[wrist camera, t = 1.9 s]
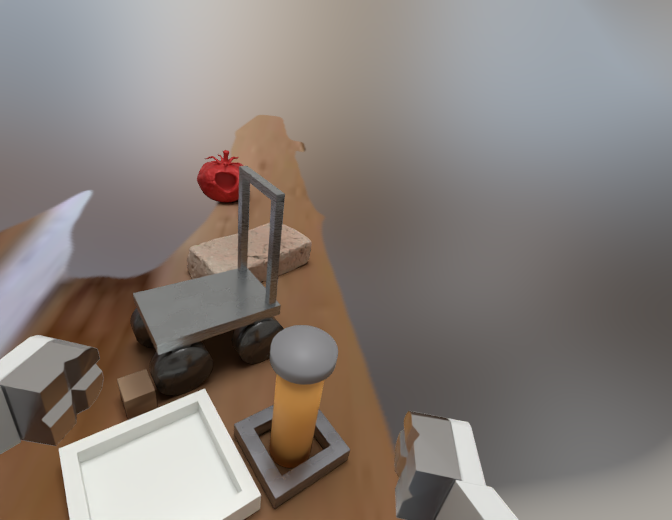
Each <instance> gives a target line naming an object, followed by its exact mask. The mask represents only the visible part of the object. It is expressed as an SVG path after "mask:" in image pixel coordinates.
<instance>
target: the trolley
mask: <svg viewBox="0 0 672 520" xmlns="http://www.w3.org/2000/svg"><path fill="white" fill-rule="evenodd" d="M250 183H251V184H252V185H253V186H255V187H256V188H257V189H258V190H260V191H261V192H262V193H263V194H265V195H266V196H267V197H268V198H270V199H271V216H270V232H269V248H268V263H267V279H266V288H265V287H264V286H263V285H262V284H261V283H260V282H259V280H258V279H257V278H256V277H255V276H254V275H253V274H252V273H251V271H250V270H249V269H248V268H247V261H248V228H249V196H250ZM284 197H285V194H284V193H283V192H282V191H280V190H279V189H278V188H276V187H275V186H273V185H272V184H271V183H269V182H268V181H267V180H265V179H264V178H263V177H261V176H260V175H259V174H257V173H256V172H254V171H253V170H252V169H250V168H249V167H248V166H239V209H238V269H234V270H229V271H225V272H221V273H217V274H213V275H209V276H204V277H200V278H196V279H192V280H188V281H183V282H179V283H175V284H171V285H167V286H163V287H158V288H154V289H150V290H146V291H142V292H137V293H133V296H134V302H135V305H136V307H137V308H136V309H135V311H134V312H133V314H132V316H131V321H130V322H131V327H132V329H133V332H134V334H135V337H136V339H137V341H138V342H139V343H140V344H141V345H143V346H145V347H150V348H155V349H156V351H157V352H156V353H155V354H154V356H153V357H152V359H151V362H150V366H149V369H150V373H151V375H152V378H153V380H154V382H155V385H156V387H157V389H158V390H159V391H160V392H161V393H163V394H166V395H179V394H183V393H186V392H188V391H191V390H193V389H194V388H196V387H198V386H199V385H200V384H201V383H203V382H204V381H205V380H206V378H207V377H208V376H209V374H210V373H211V371H212V368H213V359H212V357H211V356H210V354H209V352H208V350H207V349H206V347H205V345H204V344H203V342H202V340H205V339H208V338H210V337H213V336H216V335H219V334H222V333H225V332H228V331H231V330H234V329H235V331H234V333H233V337H232V344H233V346H234V348H235V349H236V351H237V352H238V354H239V355H240V357H241V358H242V360H243V361H244V362H246V363H250V364H254V363H259V362H262V361H264V360H266V359H268V358H270V349H271V343H272V340H273V338H274V337H275V335H277V334H278V333H279V332H280V331H282V330H283V329H284V328H283V327H282V326H281V325H280V324H279V322H278V321H277V320H276V319H275V318H274V316H276V315H279V314H280V306H281V305H280V304H279V303H278V302H277V301H276V295H277V282H278V270H279V258H280V246H281V234H282V222H283V209H284Z"/></svg>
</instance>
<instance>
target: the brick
mask: <svg viewBox="0 0 672 520" xmlns="http://www.w3.org/2000/svg"><path fill="white" fill-rule="evenodd" d="M269 232H270V223H268V224H265V225H262V226H259V227H256V228H254V229H251V230H249V231H248V261H247V268H248V269H249V270H250V271H251V273H252V274H253V275H254V276H255V277H256V278H257V279H258V280H259V282H262V281H266V279H267V263H268V248H269ZM189 251H190V253H189V255H188V258H187V263H188V265H187V268H188V270H189V273H190V275H191V277H192V278H193V279H196V278H200V277H204V276H209V275H213V274H217V273H221V272H225V271H229V270H234V269H238V234H234V235H230V236H225V237H221V238H218V239H213V240H210V241H209V242H204V243H201V244H200V245H195V246H192V247H191V248H190V249H189ZM310 252H311V241H310V240H309V239H308V238H307V237H306V236H304V235H303V234H301V233H300V232H298V231H296V230H295V229H293V228H290V227H288V226H286V225H284V224H282V234H281V246H280V258H279V270H278V276H279V275H281V274H284V273H286V272H289V271H291V270H294V269H296V268H297V267H299V266H301V265H304V264H305V263H307V261H308V260H309V257H310Z"/></svg>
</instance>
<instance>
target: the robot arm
mask: <svg viewBox="0 0 672 520" xmlns="http://www.w3.org/2000/svg"><path fill="white" fill-rule="evenodd" d="M99 359H100V357H99V353H98V349H96V348H93V347H89V346H85V345H81V344H76V343H72V342H68V341H63V340H59V339H54V338H49V337H45V336H40V335H36V336H33V337H29V338H28V339H27V340H25V341H24V342H23V343H21V344H20V345H19V346H18V347H16V348H15V349H14V350H12V351H11V352H10V353H8V354H7V355H6V356H4V357H3V358H2V359H0V454H2V453H3V452H5V451H7V450H8V449H10V448H12V447H13V446H15V445H17V444H19V443H20V442H21V440H24V441H30V442H36V443H41V444H47V445H53V446H57V444H58V443H59V442H60V441H61V440H62V439H63V438H64V436H65V435H66V434H67V433H68V432H69V431H70V429H71V428H72V427H73V426H74V425H75V424H76V419H77V414H78V413H80V412H82V411H84V410H86V409H88V408H89V407H90V406H91V405H92V404H93V403H94V401H95V400H96V399H97V397H98V395H99V393H100V391H101V389H102V385H103V373H102V371H101V370H100V368H99V367H98V366H97V365H96V363H97V361H98V360H99ZM395 472H396V474H397V475H398V477H399V480H398V483H397V486H396V488H395V495H396V517H397V518H401V519H405V520H518V518H517V517H516V516H515V515H514V513H513V512H512V511H511V510H510V509H509V507H508V506H507V505H506V504H505V502H504V501H503V500H502V499H501V497H500V496H499V495H498V494H497V493H496V491H495V490H494V489H493V488H492V487H488V486H486V484H485V480H484V476H483V472H482V468H481V464H480V460H479V456H478V452H477V448H476V444H475V440H474V436H473V432H472V429H471V426H470V424H469V423H468V422H464V421H459V420H454V419H449V418H448V419H447V418H445V417H440V416H434V415H429V414H424V413H418V412H413V411H408V413H407V414H406V416H405V419H404V430H403V431H401V432H400V433H399V436H398V439H397V443H396V449H395Z"/></svg>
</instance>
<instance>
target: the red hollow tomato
mask: <svg viewBox="0 0 672 520" xmlns="http://www.w3.org/2000/svg"><path fill="white" fill-rule="evenodd" d="M223 153H224V158H222V157H221V155H218V156H220V157H221V161H219V160H218V159H216V158H215V157H213V156H211V157H208V158H207V159H209V158H214V159H215V160H216V161H211V162H207V163H205V164H204V165H203V166H202V168H201V169H200V171H199V174H198V177H197V181H198V184H199V186H200V188H201V190H202V191H203V193H204V194H205V195H206V196H207V197H209V198H210V199H212V200H215V201H219V202H227V203H228V202H233V201H236V200H239V166H243V165H242V164H240V163H231V161H232V160H233V159H237V158H238V157H232V158H230V159H229V160H228V155H229V151H226V150H225V151H223Z"/></svg>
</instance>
